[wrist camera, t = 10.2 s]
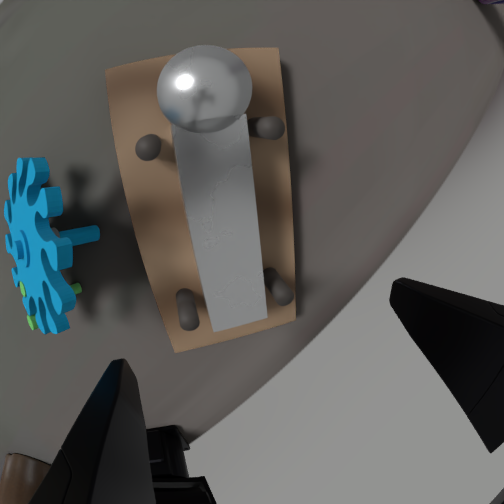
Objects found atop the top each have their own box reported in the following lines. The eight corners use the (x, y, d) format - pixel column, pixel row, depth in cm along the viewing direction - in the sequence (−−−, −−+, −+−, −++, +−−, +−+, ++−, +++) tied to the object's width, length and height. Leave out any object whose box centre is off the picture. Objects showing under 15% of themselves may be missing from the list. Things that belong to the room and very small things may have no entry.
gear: (5, 133, 11) (57, 213, 8) (81, 134, 16) (169, 200, 13) (-1, 278, 15) (56, 383, 12) (57, 262, 20) (124, 346, 17)
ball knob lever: (259, 291, 21) (274, 315, 18) (199, 306, 20) (206, 334, 17) (232, 55, 13) (247, 42, 11) (153, 65, 12) (152, 52, 10)
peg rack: (288, 309, 24) (312, 343, 20) (173, 340, 22) (179, 381, 18) (269, 52, 15) (300, 35, 11) (109, 74, 13) (93, 58, 9)
